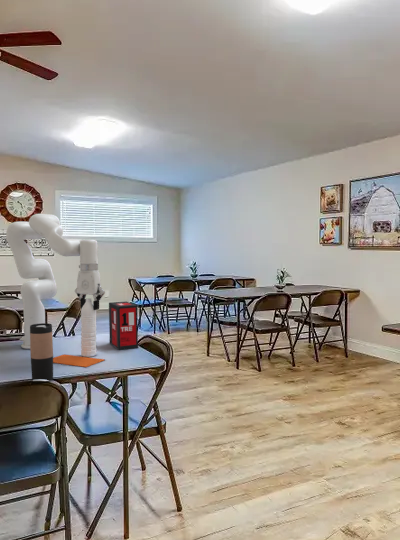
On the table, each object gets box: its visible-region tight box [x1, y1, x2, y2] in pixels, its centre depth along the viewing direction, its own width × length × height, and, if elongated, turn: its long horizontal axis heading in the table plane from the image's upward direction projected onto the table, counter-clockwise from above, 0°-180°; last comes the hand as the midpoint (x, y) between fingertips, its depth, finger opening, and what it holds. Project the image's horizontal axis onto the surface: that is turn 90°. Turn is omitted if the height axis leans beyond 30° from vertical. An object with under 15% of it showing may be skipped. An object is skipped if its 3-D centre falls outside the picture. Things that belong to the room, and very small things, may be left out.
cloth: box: [53, 354, 106, 368], centre depth 195 cm, size 22×12×1 cm, turn 64°
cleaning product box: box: [108, 300, 139, 351], centre depth 222 cm, size 16×9×20 cm, turn 26°
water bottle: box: [80, 297, 102, 358], centre depth 204 cm, size 9×6×25 cm
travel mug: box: [29, 322, 54, 381], centre depth 167 cm, size 8×8×20 cm
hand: (89, 308), depth 203 cm, fingers closed on water bottle, 6 cm apart
